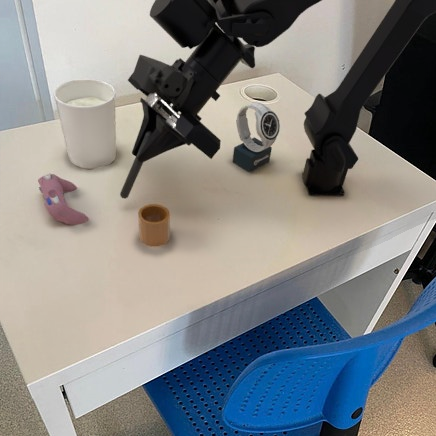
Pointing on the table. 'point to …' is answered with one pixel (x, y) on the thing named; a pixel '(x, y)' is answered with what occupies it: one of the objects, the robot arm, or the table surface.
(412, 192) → the table surface
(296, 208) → the table surface
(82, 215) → the video game controller
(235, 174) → the table surface
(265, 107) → the watch
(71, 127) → the candle holder
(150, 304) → the table surface
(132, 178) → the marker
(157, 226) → the brown wooden cup
